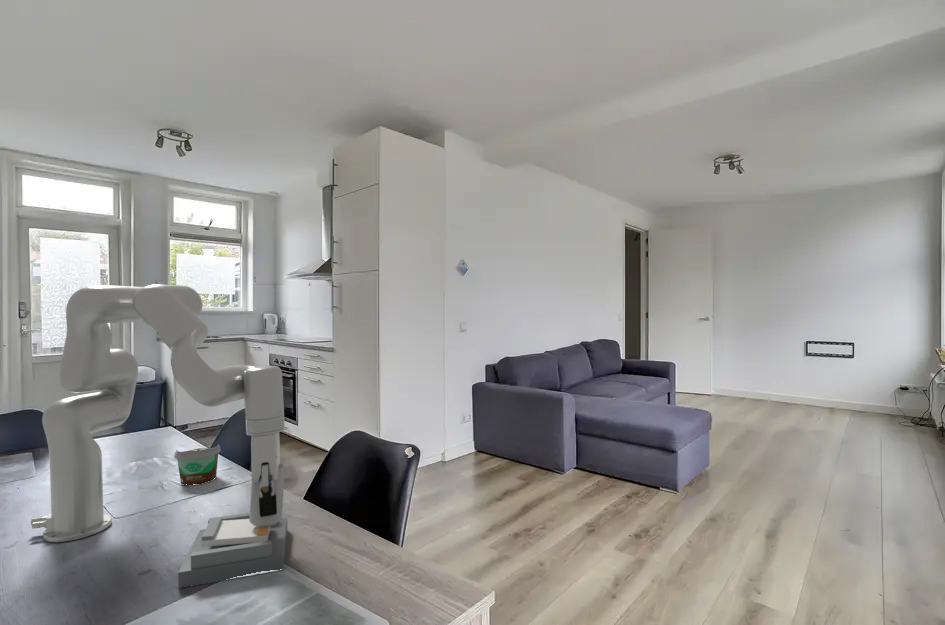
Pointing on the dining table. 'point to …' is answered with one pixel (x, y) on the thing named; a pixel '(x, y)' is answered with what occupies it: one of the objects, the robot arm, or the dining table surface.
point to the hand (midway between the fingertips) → (269, 508)
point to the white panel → (232, 532)
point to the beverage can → (278, 490)
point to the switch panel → (233, 556)
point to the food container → (197, 465)
